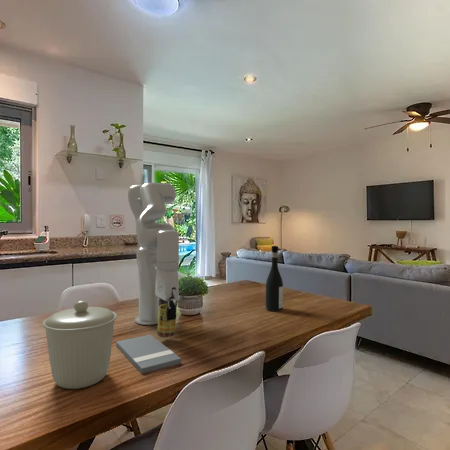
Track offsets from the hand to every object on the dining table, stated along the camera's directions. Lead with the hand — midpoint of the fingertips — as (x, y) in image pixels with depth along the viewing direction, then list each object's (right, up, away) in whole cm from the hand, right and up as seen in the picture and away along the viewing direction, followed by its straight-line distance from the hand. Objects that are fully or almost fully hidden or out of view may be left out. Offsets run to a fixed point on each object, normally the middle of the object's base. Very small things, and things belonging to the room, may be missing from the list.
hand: (167, 316), depth 117 cm
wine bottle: (+43, -8, +41) cm, 60 cm away
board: (-5, -9, -11) cm, 15 cm away
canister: (-18, -10, -28) cm, 34 cm away
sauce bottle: (0, -7, 0) cm, 7 cm away
